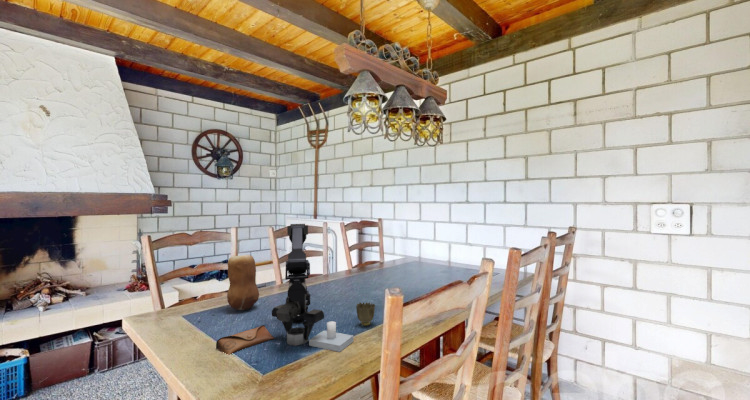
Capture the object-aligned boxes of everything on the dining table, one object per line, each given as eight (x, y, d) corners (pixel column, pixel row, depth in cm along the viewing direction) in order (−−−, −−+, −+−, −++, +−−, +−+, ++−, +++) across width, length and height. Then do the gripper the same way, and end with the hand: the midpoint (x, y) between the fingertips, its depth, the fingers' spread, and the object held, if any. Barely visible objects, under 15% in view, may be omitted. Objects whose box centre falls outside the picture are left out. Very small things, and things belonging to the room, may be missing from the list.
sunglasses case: (227, 355, 104) (222, 335, 107) (218, 361, 108) (214, 341, 110) (277, 338, 118) (271, 319, 120) (267, 343, 122) (262, 325, 124)
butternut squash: (237, 304, 159) (237, 252, 159) (264, 305, 157) (263, 252, 157) (220, 314, 145) (220, 257, 145) (249, 315, 143) (248, 257, 143)
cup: (373, 329, 126) (372, 308, 126) (354, 328, 127) (353, 307, 127) (376, 322, 133) (376, 302, 133) (359, 321, 134) (358, 301, 134)
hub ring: (283, 343, 114) (282, 332, 114) (296, 335, 120) (295, 326, 120) (299, 346, 111) (299, 336, 111) (311, 338, 117) (311, 328, 117)
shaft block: (309, 345, 112) (309, 324, 112) (324, 335, 120) (324, 316, 120) (339, 352, 106) (339, 330, 107) (353, 341, 115) (353, 321, 115)
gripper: (260, 296, 112) (260, 342, 112) (304, 302, 104) (305, 352, 104) (282, 288, 122) (282, 330, 122) (324, 293, 115) (325, 339, 114)
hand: (297, 338), depth 115 cm, fingers closed on hub ring, 7 cm apart
